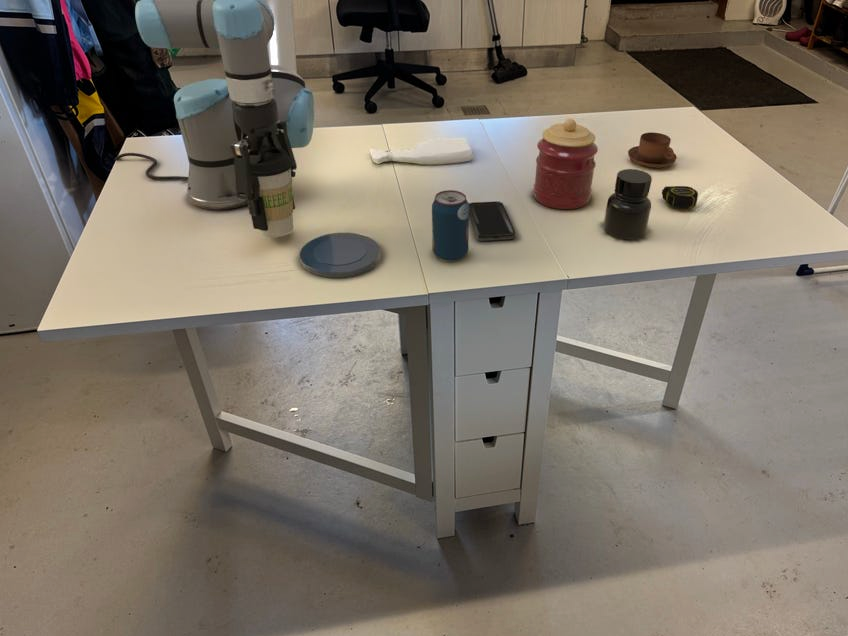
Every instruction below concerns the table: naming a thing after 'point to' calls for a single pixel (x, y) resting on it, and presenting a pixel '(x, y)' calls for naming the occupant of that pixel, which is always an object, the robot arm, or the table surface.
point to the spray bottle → (429, 152)
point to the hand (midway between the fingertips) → (275, 218)
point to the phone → (490, 221)
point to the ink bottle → (629, 205)
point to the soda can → (450, 225)
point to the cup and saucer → (653, 151)
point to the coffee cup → (276, 191)
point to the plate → (340, 255)
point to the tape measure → (680, 196)
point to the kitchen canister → (565, 166)
